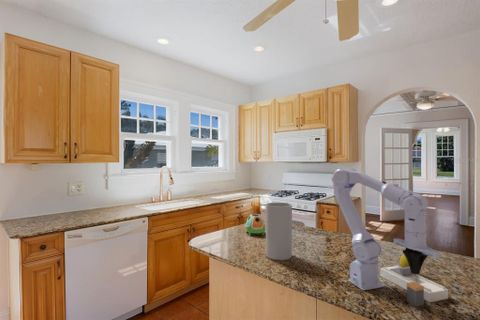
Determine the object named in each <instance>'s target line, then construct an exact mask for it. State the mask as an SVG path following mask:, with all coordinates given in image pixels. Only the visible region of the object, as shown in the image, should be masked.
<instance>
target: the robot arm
mask: <svg viewBox="0 0 480 320" xmlns="http://www.w3.org/2000/svg"><path fill="white" fill-rule="evenodd" d="M331 181H332V183H333V194H334V198H335V200H336V201H337V204H338V206H339V208H340V211H341V212H342V214H343V217H344V219H345V222H346V224H347V226H348V228H349V230H350V232H351V236H352V239H351V245H352V247H353V249H352V250H353V251H352V253H353V256H354V257H355V258H356V259H355V260H354V261H351V262H350V263H349V278H348V282H350V283H351V284H353V285H354V286H356V287H357V288H359V289H361V290H362V291H368V290H373V289H380V288H385V285H384V284H383V283H380V282H379V256H380V255H381V254H382V247H381V245H380V244H379V242H378V241H377V240H376V239H375V237H374V236H373V234H371V233H370V232H368V230H367V228H366V226H365V224H364V221H363V220H362V218H361V216H360V214H359V212H358V209H357V207H356V205H355V203H354V201H353V199H352V196H351V191H352V189H353V188H354V187H355V186H356V184H361V185H363V186H365V187H368V188H370V189H372V190H375V191H377V192H378V193H380V195H381V196H382V198H383V199H386V200H387V201H389V202H391V203H394V204H395V205H398V206H400V207H401V208H402V210H403V211H404V239H402V238H393V245H395V246H400V247H402V248H405V249H403V250H402V253H403V254H402V255H405V257H406V259H407V261H408V263H409V266H410V270H411V273H413V274H417V275H420V273H421V271H422V270H421V269H422V266H423V264H424V262H425V261H426V259H427V258H428V257H430V258H432V259H434V260H439V259H441V252H440V251H439V250H437V249H433V248H431V247H429V246H428V245H427V234H426V233H427V226H426V225H427V220H426V210H427V208H428V207H429V201H428V199H427V198H426V197H425V196H424V195H422V194H421V193H414V191H413V190H410V189H409V190H407V189H405V188H402V187H401V186H399V184H398V183H396V182H394V183H391V182H389V183H384V182H382V181H379V180H378V179H376V178H374V177H372V176H370V175H368V174H366V173H365V172H362V171H361V170H357V169H355V168H347V169H346V168H345V169H343V168H337V169H336V170H335V171H334V173H333V174H332V176H331Z"/></svg>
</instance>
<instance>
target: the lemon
mask: <svg viewBox="0 0 480 320" xmlns="http://www.w3.org/2000/svg"><path fill="white" fill-rule="evenodd" d="M399 264H400V267H402V268H404V267H410V266H409V263H408V261H407V259H406V257H405V255H404V254H402V255H401V256H400V259H399Z"/></svg>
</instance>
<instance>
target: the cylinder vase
mask: <svg viewBox="0 0 480 320" xmlns="http://www.w3.org/2000/svg"><path fill="white" fill-rule="evenodd" d="M265 255H266V258H269V259H270V260H274V261H287V260H290V259H291V258H292V256H293V204H292V203H290V202H289V203H288V202H277V201H276V202H275V201H274V202H267V203H265Z"/></svg>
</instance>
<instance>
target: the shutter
mask: <svg viewBox="0 0 480 320" xmlns="http://www.w3.org/2000/svg"><path fill="white" fill-rule="evenodd" d="M390 270H392V271H394V272H396V273H398V274H400V275H402V276H407V275H412V273H411V270H410V267H404V268H394V269H390Z"/></svg>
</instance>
